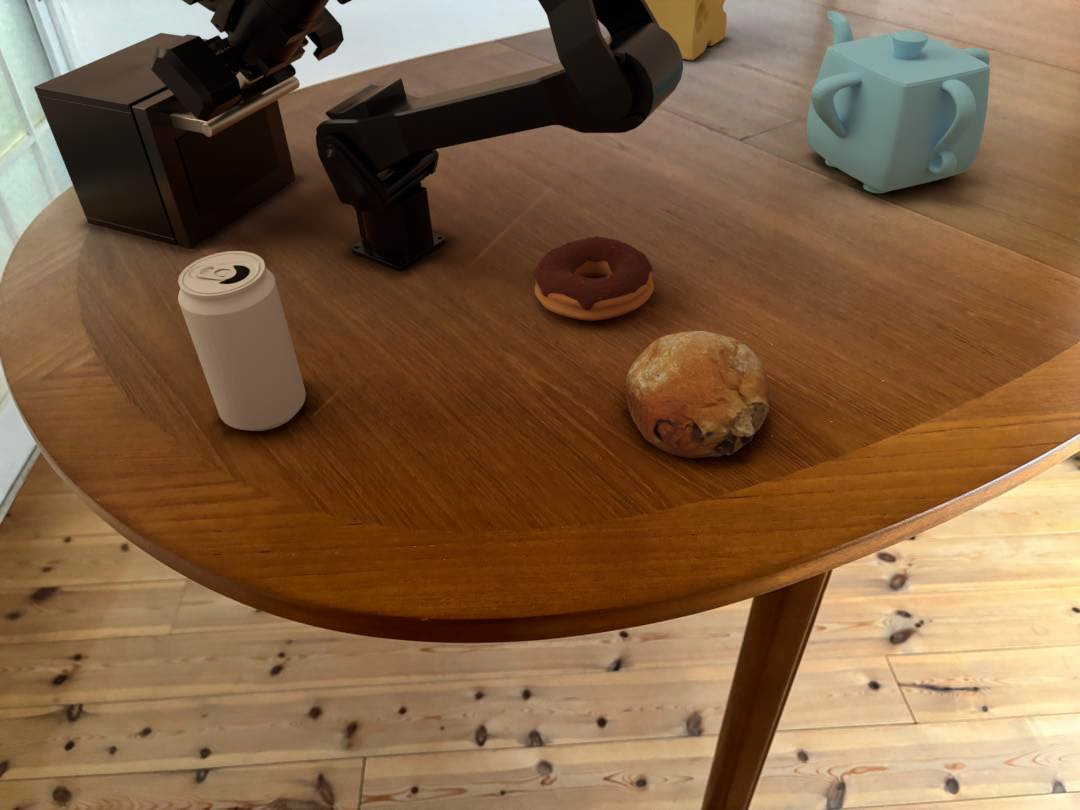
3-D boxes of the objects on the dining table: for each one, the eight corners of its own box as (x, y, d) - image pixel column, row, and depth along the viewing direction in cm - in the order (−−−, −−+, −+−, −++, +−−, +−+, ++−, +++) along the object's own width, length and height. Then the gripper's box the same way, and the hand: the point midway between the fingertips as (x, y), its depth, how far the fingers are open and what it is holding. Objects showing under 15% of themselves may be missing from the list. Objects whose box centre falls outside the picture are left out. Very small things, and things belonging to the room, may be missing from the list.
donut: (630, 258, 83) (631, 219, 80) (670, 316, 75) (673, 275, 73) (522, 278, 81) (519, 238, 78) (552, 339, 74) (550, 297, 71)
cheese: (725, 39, 127) (732, -40, 120) (692, 63, 120) (697, -18, 113) (657, 29, 131) (660, -47, 125) (622, 52, 124) (623, -27, 118)
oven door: (334, 187, 96) (308, 55, 88) (231, 259, 85) (189, 117, 77) (284, 176, 99) (253, 47, 90) (178, 245, 88) (131, 106, 79)
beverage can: (287, 442, 65) (244, 300, 58) (205, 433, 66) (153, 293, 59) (321, 387, 70) (286, 249, 62) (243, 379, 71) (200, 243, 64)
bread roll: (751, 421, 70) (751, 317, 68) (788, 461, 60) (789, 342, 58) (622, 428, 70) (619, 324, 68) (637, 470, 60) (634, 350, 58)
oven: (282, 177, 99) (250, 45, 90) (176, 246, 88) (128, 104, 79) (199, 159, 103) (160, 32, 94) (88, 223, 93) (33, 86, 84)
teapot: (983, 151, 96) (1020, 18, 88) (953, 219, 85) (992, 75, 77) (811, 123, 104) (830, -2, 95) (764, 183, 93) (780, 48, 84)
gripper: (290, -114, 79) (226, 7, 90) (128, -62, 67) (76, 71, 78) (380, -9, 81) (306, 96, 92) (239, 60, 69) (173, 173, 80)
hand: (220, 106), depth 86 cm, fingers closed, pressing on oven door
